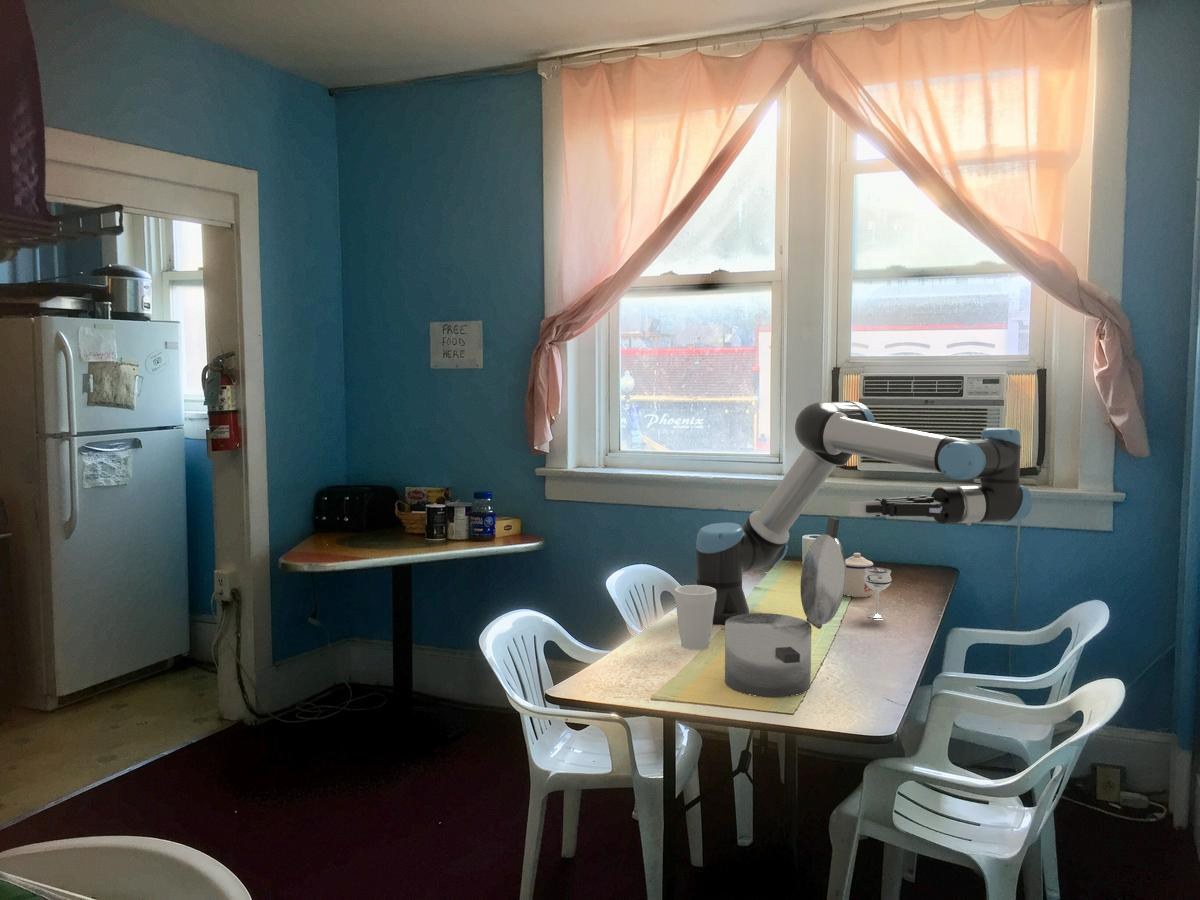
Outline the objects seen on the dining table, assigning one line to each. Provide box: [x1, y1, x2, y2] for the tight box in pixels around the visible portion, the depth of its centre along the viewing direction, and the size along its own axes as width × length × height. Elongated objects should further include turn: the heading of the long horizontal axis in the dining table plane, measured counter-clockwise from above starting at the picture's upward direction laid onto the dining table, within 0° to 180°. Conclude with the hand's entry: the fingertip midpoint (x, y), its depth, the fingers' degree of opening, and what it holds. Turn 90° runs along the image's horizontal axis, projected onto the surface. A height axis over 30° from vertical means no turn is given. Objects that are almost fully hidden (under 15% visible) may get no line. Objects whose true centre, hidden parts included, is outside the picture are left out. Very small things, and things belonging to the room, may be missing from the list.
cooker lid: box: [800, 516, 846, 630], centre depth 187 cm, size 22×18×1 cm
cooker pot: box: [724, 612, 812, 698], centre depth 186 cm, size 17×26×12 cm, turn 10°
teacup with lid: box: [844, 552, 875, 598], centre depth 262 cm, size 12×9×12 cm
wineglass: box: [864, 567, 892, 618], centre depth 236 cm, size 7×7×12 cm
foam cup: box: [674, 584, 716, 651], centre depth 211 cm, size 10×9×13 cm
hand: (848, 508), depth 186 cm, fingers closed
